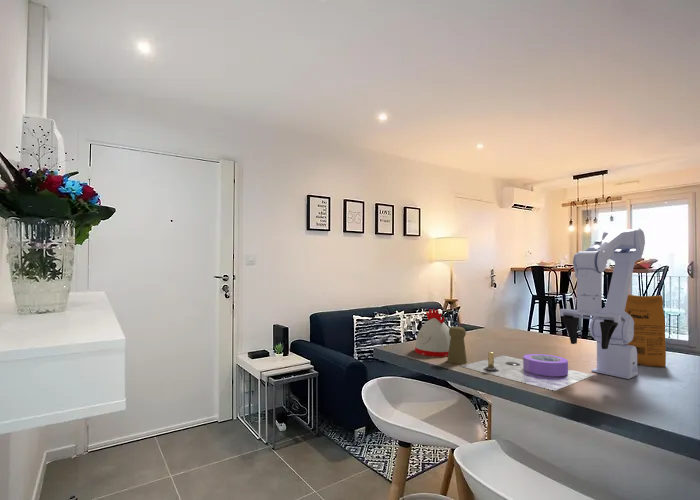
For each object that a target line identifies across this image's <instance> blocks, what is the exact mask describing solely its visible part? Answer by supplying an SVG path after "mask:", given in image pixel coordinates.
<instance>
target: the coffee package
mask: <svg viewBox="0 0 700 500" xmlns="http://www.w3.org/2000/svg"><path fill="white" fill-rule="evenodd" d="M663 307H664V298H663V296H662V295H646V296H645V295H643V296H642V295H633V294H628V297H627V302H626V307H625V312H626V313H628V314H629V315H630V316H631V317H632V318H633V321H634V336H633V339H632V341H631V342H630V343H628V345H632V346H635V347H636V349H637V365H641V366H646V367H658V368H659V367H663V368H664V367H665V366H666V363H667V362H666V361H667V351H666V349H667V348H666V320H665V310H664V308H663Z"/></svg>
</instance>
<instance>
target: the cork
mask: <svg viewBox="0 0 700 500" xmlns="http://www.w3.org/2000/svg"><path fill="white" fill-rule="evenodd" d="M449 335H450V337H451V338H450V345H449V352H448V357H447V359H446V360H447V363H450V364H452V365H466V364H468V360H467V359H468V358H467V353H466V345H465V344H466V343H465V337H466V335H467V332H466V329H465V327H462V326H451V327H449Z"/></svg>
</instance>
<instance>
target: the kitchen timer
mask: <svg viewBox="0 0 700 500" xmlns="http://www.w3.org/2000/svg"><path fill="white" fill-rule="evenodd" d="M425 315H426V317H427V321H425V322H424V324H423V325H422V326H421V327H420V329H419V331H418V332H417V336H416V339H415V340H416V341H415V345H414V347H415V349H414V351H415V353H416V354H418V355H422V356H427V357H428V356H429V357H436V358H442V357H445V358H446V357H447V358H448V352H449V345H450V338H451V337H450V335H449V329H450V327H449V326H448V325H447V324H446V323H445V319H446V317H444V316H443V317H442V313H441V312H440V313H439V309H435V308H432V309H430V308H429V309H428V311H426V312H425Z"/></svg>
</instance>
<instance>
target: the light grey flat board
mask: <svg viewBox="0 0 700 500" xmlns="http://www.w3.org/2000/svg"><path fill="white" fill-rule="evenodd" d="M459 367H461V368H465V369H468V370H472V371H477V372H481V373H483V374H488V375H491V376H495V377H499V378H502V379H507V380H510V381H513V382H514V381H515V382H519V383H521V382H522V384H525V383H526V385H530V386H534V387H537V388H541V389H544V388H545V390H548V389H549V390H548V391H552V390H553V392H556V391H559V390H561V389H564V388H565V387H566V388H567V387H569V386H571V385H573V384H576V383H579V382H580V381H583V380H585V379H588V378H591V377H594V374H591V373H587V372H583V371H577V370H573V369H569V368H568V375H566V376H544V375H538V374H533V373H530V372H527V371H525V370H524V369H523V359H522V358H517V357H512V356H507V355H500V356H496V357H495V356H494V367H495V368H496V371H488V370H486V367H488V358H487V359H483V360H479V361H475V362H471V363H466V364H461V365H459Z"/></svg>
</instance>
